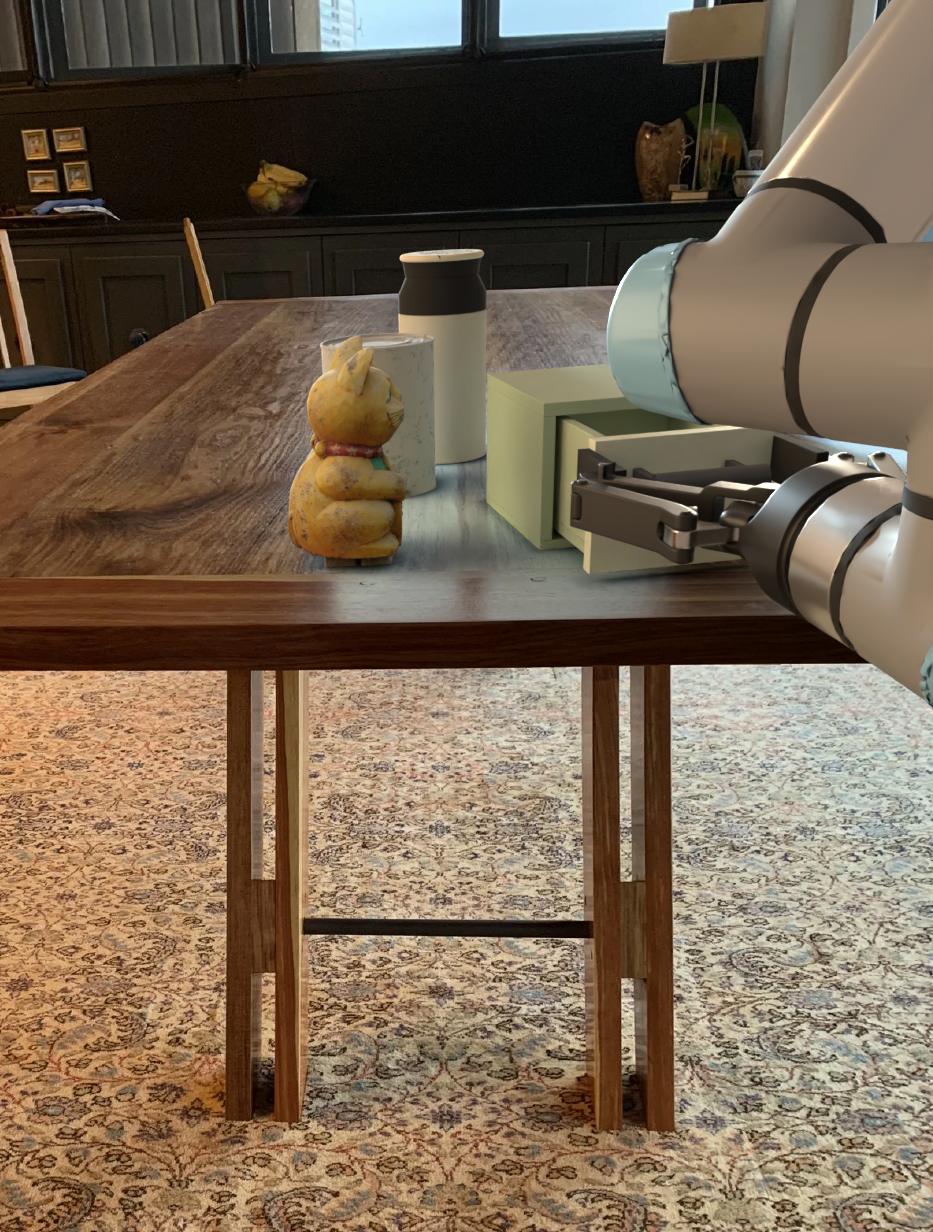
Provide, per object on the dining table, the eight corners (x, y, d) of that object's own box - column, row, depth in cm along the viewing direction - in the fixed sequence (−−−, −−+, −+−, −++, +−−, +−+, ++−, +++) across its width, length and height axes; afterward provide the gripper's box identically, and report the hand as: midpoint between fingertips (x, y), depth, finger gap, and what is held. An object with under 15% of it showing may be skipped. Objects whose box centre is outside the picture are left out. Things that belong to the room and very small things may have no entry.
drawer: (795, 578, 74) (813, 440, 70) (615, 597, 73) (623, 456, 69) (677, 508, 90) (686, 392, 86) (528, 522, 89) (531, 405, 85)
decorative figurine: (421, 574, 83) (416, 343, 76) (304, 588, 81) (288, 354, 74) (386, 538, 91) (379, 327, 84) (279, 550, 90) (263, 337, 83)
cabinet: (711, 537, 87) (725, 388, 82) (539, 553, 85) (543, 403, 80) (636, 491, 100) (644, 360, 95) (486, 505, 98) (487, 373, 94)
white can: (430, 502, 100) (428, 346, 94) (318, 503, 102) (309, 350, 96) (442, 476, 108) (440, 331, 103) (338, 477, 110) (331, 335, 104)
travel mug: (458, 446, 120) (457, 248, 111) (501, 459, 113) (504, 250, 105) (387, 457, 117) (381, 255, 108) (428, 471, 110) (424, 257, 102)
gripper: (609, 655, 57) (492, 538, 76) (1073, 606, 60) (846, 504, 79) (618, 498, 54) (493, 416, 73) (1111, 453, 56) (864, 385, 75)
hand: (676, 462), depth 76 cm, fingers closed on drawer, 12 cm apart
